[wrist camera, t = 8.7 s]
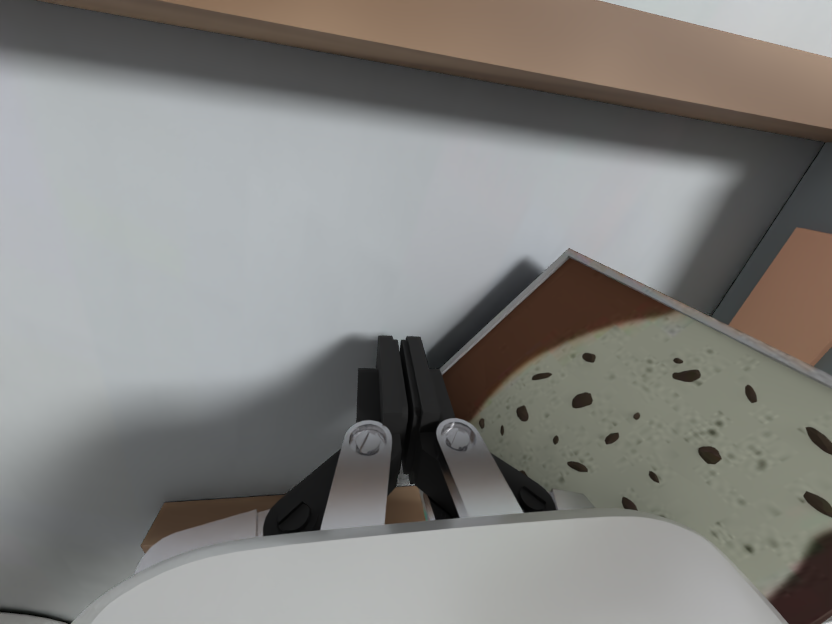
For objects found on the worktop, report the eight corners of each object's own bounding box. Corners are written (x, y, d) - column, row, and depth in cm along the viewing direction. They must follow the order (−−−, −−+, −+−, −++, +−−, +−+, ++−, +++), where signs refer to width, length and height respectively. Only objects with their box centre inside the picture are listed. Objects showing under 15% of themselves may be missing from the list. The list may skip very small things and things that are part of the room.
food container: (457, 444, 18) (579, 714, 11) (377, 426, 14) (480, 826, 7) (643, 294, 14) (1016, 537, 7) (603, 215, 11) (1317, 562, 3)
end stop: (630, 483, 22) (694, 566, 18) (596, 486, 22) (653, 572, 18) (905, 105, 12) (1231, 85, 7) (850, 93, 11) (1163, 65, 7)
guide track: (600, 486, 22) (620, 515, 20) (171, 518, 17) (149, 561, 15) (857, 94, 11) (948, 86, 9) (-123, -123, 6) (-311, -224, 4)
